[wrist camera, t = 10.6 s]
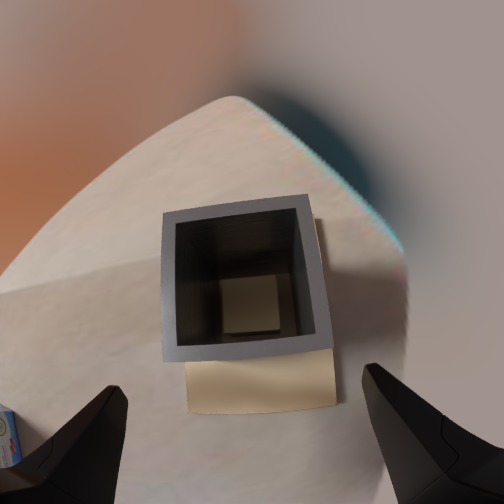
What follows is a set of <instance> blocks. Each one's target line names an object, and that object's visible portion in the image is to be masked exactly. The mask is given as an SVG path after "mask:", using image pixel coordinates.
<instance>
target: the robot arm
mask: <svg viewBox="0 0 504 504" xmlns="http://www.w3.org/2000/svg"><path fill="white" fill-rule="evenodd" d="M362 387H363V391H364V395H365V399H366V403H367V408H368V412H369V416H370V420H371V423H372V426H373V429H374V432H375V435H376V437H377V440H378V443H379V446H380V449H381V452H382V454H383V457H384V460H385V463H386V466H387V469H388V472H389V475H390V478H391V481H392V484H393V488H394V491H395V494H396V497H397V501H398V504H504V449H503V448H499V447H496V446H494V445H492V444H490V443H488V442H486V441H484V440H482V439H481V438H479V437H477V436H475V435H473V434H472V433H470V432H468V431H467V430H465V429H463V428H462V427H460V426H459V425H457V424H456V423H454V422H453V421H452V420H450V419H449V418H448V417H446V416H445V415H443V414H442V413H441V412H440V411H438V410H437V409H436V408H434V407H433V406H432V405H430V404H429V403H428V402H427V401H425V400H424V399H423V398H421V397H420V396H419V395H417V394H416V393H415V392H414V391H412V390H411V389H410V388H408V387H407V386H406V385H405V384H403V383H402V382H401V381H399V380H398V379H397V378H395V377H394V376H393V375H392V374H390V373H389V372H388V371H386V370H385V369H384V368H383V367H381V366H380V365H379V364H377V363H370V364H366V365H365V366H364V370H363V376H362ZM127 411H128V400H127V397H126V396H125V394H124V393H123V391H122V390H121V388H120V387H119V386H116V385H109V386H107V387H106V388H105V389H104V390H103V391H102V392H101V393H99V394H98V395H97V396H96V397H95V398H94V399H93V400H92V401H91V402H89V403H88V404H87V405H86V406H85V407H84V408H83V409H82V410H81V411H79V412H78V413H77V414H76V415H75V416H74V417H73V418H72V419H71V420H69V421H68V422H67V423H66V424H65V425H64V426H63V427H62V428H60V429H59V430H58V431H57V432H56V433H55V434H54V435H53V436H51V437H50V438H49V439H48V440H47V441H46V442H45V443H44V444H42V445H41V446H40V447H39V448H37V449H36V450H35V451H33V452H32V453H31V454H29V455H28V456H27V457H25V458H24V459H22V460H21V461H20V462H18V463H17V464H15V465H14V466H11V467H8V468H0V504H114V499H115V492H116V485H117V478H118V472H119V466H120V460H121V455H122V449H123V444H124V439H125V431H126V420H127Z"/></svg>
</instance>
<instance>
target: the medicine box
mask: <svg viewBox="0 0 504 504" xmlns="http://www.w3.org/2000/svg"><path fill="white" fill-rule="evenodd" d="M21 460H22V455H21V451H20V447H19V443H18V438H17V433H16V428H15V422H14V416H13V411H11V410H9V409H7V408H5V407H3V406H1V405H0V468H8V467H11V466H14V465H15V464H17V463H18V462H20V461H21Z"/></svg>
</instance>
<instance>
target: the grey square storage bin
mask: <svg viewBox="0 0 504 504" xmlns="http://www.w3.org/2000/svg"><path fill="white" fill-rule="evenodd" d="M283 273H289V277H290V284H291V291H292V299H293V307H294V315H295V323H296V332H297V336H296V337H288V338H280V339H271V340H261V341H251V342H240V343H227V344H223V343H222V330H221V316H220V301H219V285H218V281H221V280H223V279H236V278H247V277H257V276H266V275H274V274H283ZM161 331H162V353H163V362H201V361H222V360H237V359H250V358H261V357H270V356H280V355H288V354H296V353H303V352H310V351H317V350H323V349H330V348H334V340H333V332H332V325H331V318H330V311H329V304H328V298H327V291H326V285H325V279H324V273H323V268H322V262H321V257H320V251H319V246H318V241H317V236H316V231H315V226H314V221H313V216H312V211H311V207H310V202H309V197H308V194H302V195H292V196H282V197H274V198H265V199H257V200H249V201H241V202H233V203H226V204H219V205H212V206H205V207H198V208H191V209H185V210H179V211H173V212H167V213H163V225H162V247H161Z"/></svg>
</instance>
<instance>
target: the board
mask: <svg viewBox="0 0 504 504" xmlns="http://www.w3.org/2000/svg"><path fill="white" fill-rule="evenodd" d="M312 216H313V221H314V226H315V231H316V236H317V230H316V224H315V219H314V214H312ZM317 241H318V236H317ZM318 246H319V242H318ZM319 251H320V248H319ZM320 257H321V254H320ZM321 262H322V261H321ZM322 268H323V267H322ZM218 285H219V301H220V316H221V330H222V343H223V344H227V343H240V342H251V341H261V340H271V339H280V338H288V337H296V336H297V332H296V323H295V315H294V307H293V299H292V291H291V284H290V277H289V273H283V274H274V275H266V276H257V277H247V278H236V279H223V280H221V281H218ZM185 367H186V386H187V401H188V413H196V414H252V413H271V412H284V411H294V410H304V409H312V408H320V407H326V406H333V405H337V401H336V385H335V372H334V360H333V349H332V348H330V349H323V350H317V351H310V352H303V353H296V354H288V355H280V356H270V357H261V358H250V359H237V360H222V361H201V362H185Z"/></svg>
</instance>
